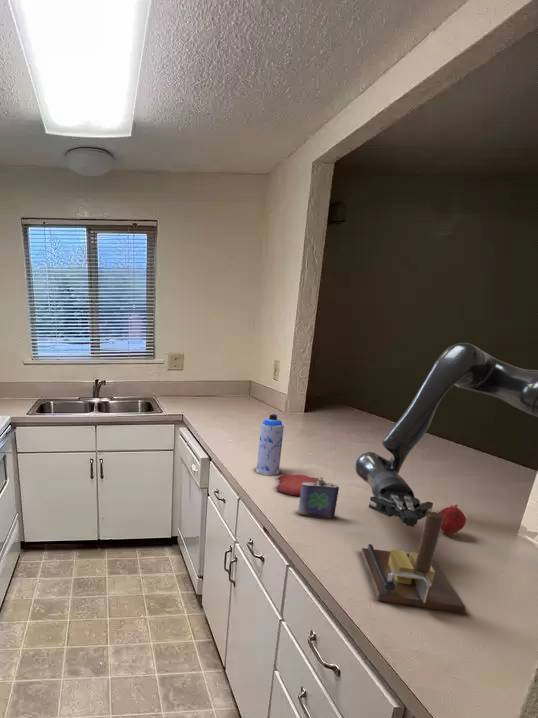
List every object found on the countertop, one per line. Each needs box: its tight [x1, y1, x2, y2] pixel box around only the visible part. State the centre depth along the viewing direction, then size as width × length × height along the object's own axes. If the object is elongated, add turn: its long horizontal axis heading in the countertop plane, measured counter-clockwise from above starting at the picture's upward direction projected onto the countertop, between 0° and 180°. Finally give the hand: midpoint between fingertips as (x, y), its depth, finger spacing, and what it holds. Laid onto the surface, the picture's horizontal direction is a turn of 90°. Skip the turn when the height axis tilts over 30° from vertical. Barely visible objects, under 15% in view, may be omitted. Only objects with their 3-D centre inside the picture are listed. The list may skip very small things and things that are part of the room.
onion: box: [438, 503, 467, 535], centre depth 106 cm, size 6×6×8 cm
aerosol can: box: [255, 413, 285, 476], centre depth 148 cm, size 8×8×20 cm
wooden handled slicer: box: [382, 511, 444, 603], centre depth 79 cm, size 8×6×16 cm
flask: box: [297, 476, 340, 519], centre depth 116 cm, size 9×3×11 cm, turn 75°
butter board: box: [360, 543, 466, 614], centre depth 88 cm, size 14×18×5 cm
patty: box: [276, 473, 319, 497], centre depth 136 cm, size 18×14×2 cm
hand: (411, 522), depth 89 cm, fingers closed
